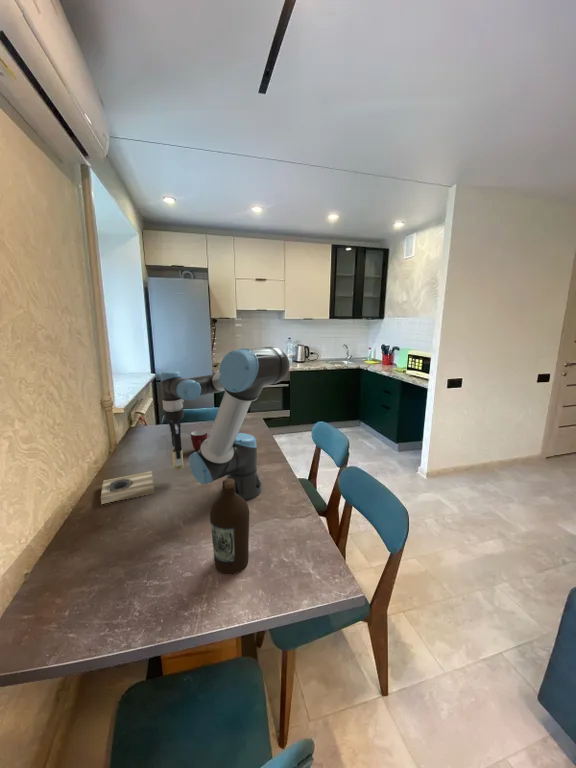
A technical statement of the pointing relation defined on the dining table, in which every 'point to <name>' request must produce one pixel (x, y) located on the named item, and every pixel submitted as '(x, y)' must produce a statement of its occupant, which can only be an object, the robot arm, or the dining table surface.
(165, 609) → the dining table surface
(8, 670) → the dining table surface
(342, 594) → the dining table surface
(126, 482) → the jig
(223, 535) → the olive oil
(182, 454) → the cylinder with metal cap
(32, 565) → the dining table surface
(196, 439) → the mug
